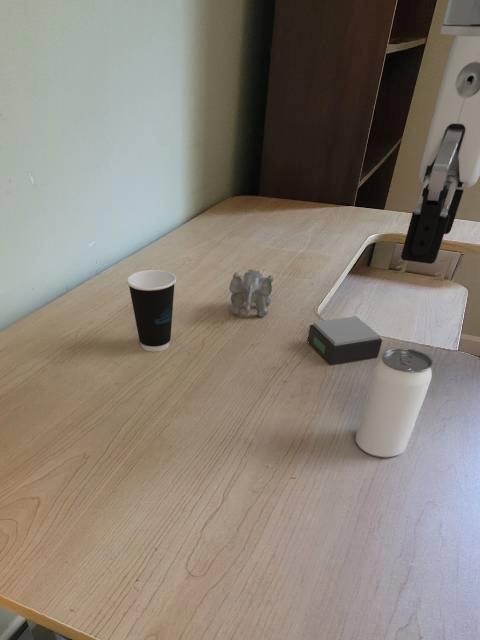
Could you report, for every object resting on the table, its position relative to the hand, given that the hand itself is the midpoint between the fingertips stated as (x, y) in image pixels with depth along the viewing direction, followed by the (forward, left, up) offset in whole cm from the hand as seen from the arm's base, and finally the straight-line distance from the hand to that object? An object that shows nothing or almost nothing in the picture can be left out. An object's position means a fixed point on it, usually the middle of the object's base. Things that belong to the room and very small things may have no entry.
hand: (426, 245), depth 53 cm
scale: (-8, -23, -23) cm, 34 cm away
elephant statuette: (+2, -40, -24) cm, 47 cm away
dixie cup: (+22, -34, -24) cm, 47 cm away
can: (0, +3, -24) cm, 24 cm away
